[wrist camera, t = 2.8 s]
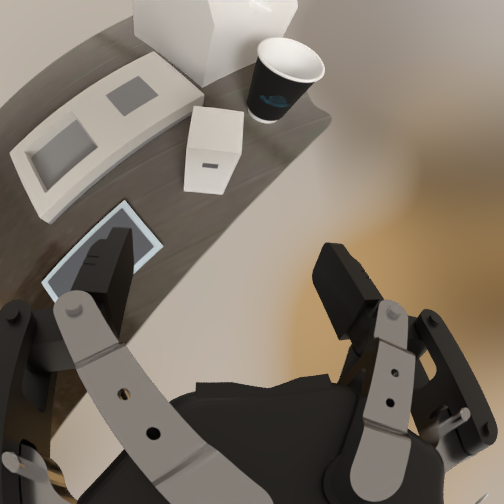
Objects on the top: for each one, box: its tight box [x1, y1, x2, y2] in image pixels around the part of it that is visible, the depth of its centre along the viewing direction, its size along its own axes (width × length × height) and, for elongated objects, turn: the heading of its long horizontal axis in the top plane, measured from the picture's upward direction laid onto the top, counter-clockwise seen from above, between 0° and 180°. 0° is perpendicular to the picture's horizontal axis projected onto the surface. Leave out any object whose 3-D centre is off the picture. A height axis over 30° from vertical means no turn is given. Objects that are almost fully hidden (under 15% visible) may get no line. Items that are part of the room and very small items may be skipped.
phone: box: [41, 200, 163, 302], centre depth 26 cm, size 14×7×1 cm, turn 134°
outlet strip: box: [10, 51, 204, 224], centre depth 26 cm, size 24×12×3 cm, turn 134°
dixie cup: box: [247, 37, 325, 123], centre depth 29 cm, size 8×8×11 cm
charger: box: [184, 106, 244, 195], centre depth 26 cm, size 5×4×10 cm
